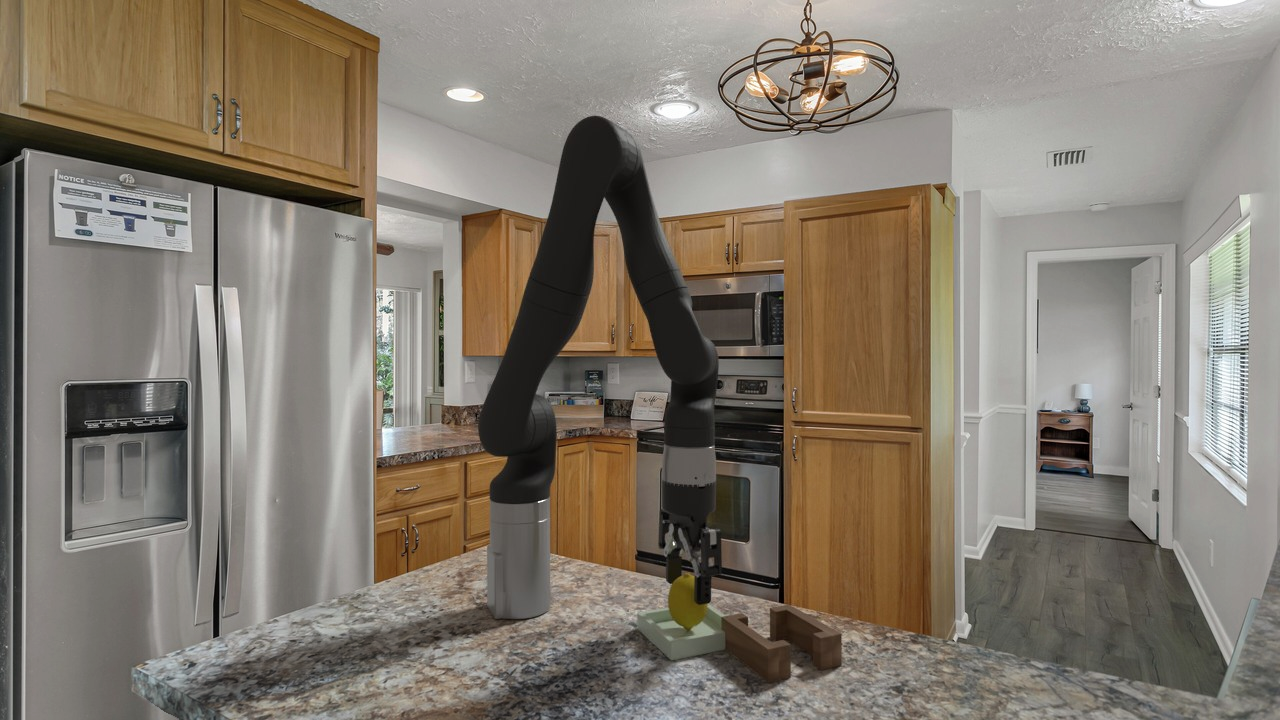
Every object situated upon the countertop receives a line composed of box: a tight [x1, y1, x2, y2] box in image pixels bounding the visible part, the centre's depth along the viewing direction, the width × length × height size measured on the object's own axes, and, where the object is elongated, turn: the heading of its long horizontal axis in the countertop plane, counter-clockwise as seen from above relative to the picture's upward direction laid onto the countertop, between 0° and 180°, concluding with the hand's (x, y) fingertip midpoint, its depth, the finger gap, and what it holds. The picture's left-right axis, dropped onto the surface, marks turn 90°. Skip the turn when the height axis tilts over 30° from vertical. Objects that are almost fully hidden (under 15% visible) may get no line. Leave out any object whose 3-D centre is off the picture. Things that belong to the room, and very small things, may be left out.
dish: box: [636, 603, 727, 661], centre depth 94 cm, size 11×11×2 cm
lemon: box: [667, 572, 709, 631], centre depth 94 cm, size 6×6×8 cm
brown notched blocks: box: [721, 604, 843, 683], centre depth 88 cm, size 11×11×4 cm
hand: (687, 592), depth 94 cm, fingers open, 8 cm apart
